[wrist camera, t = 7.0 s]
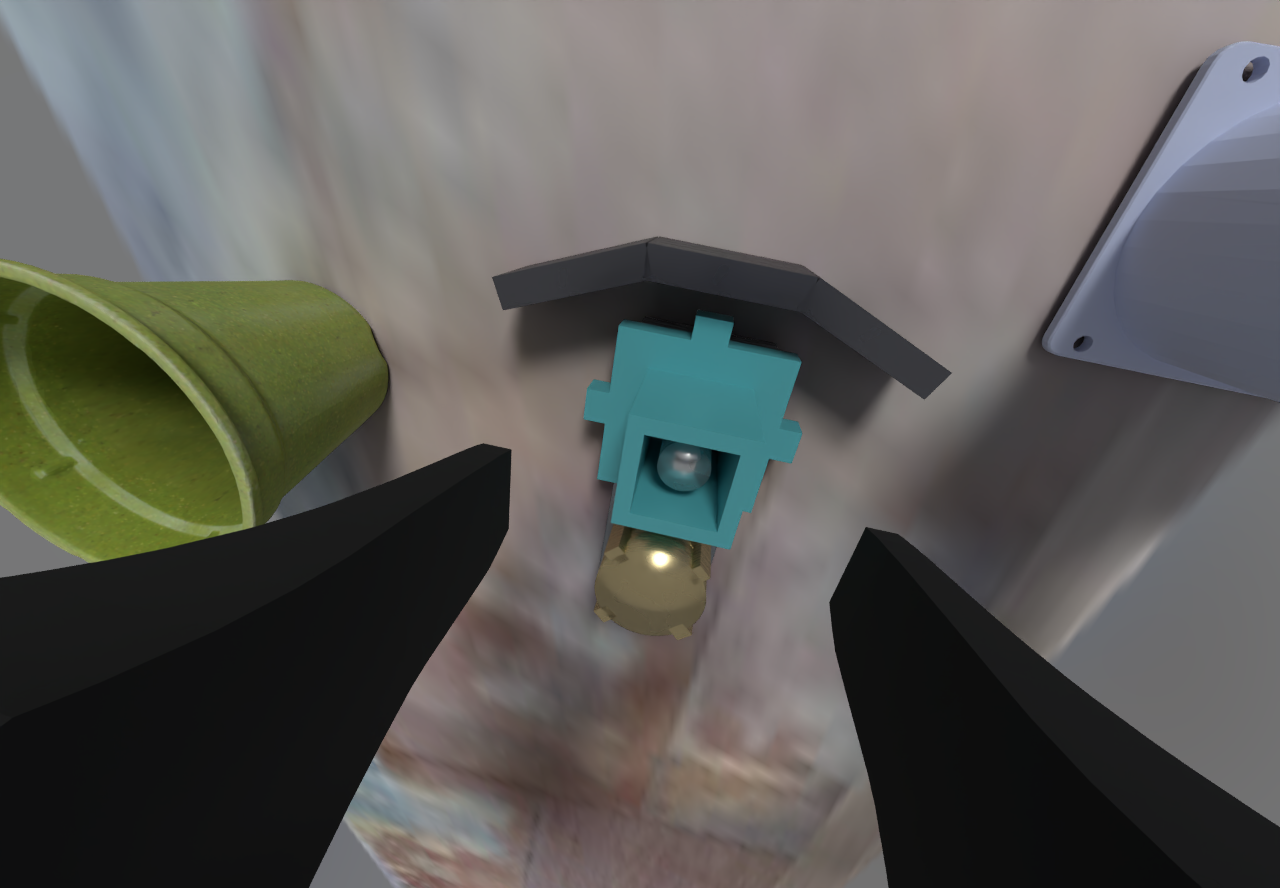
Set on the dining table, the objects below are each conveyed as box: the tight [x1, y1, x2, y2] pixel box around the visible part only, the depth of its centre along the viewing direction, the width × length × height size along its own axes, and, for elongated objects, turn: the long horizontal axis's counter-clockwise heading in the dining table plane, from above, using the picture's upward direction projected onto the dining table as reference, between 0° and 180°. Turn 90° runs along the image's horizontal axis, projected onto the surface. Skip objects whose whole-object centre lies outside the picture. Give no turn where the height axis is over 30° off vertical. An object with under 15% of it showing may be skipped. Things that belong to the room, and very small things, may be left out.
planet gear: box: [584, 310, 802, 549], centre depth 15 cm, size 8×8×5 cm
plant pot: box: [0, 259, 388, 563], centre depth 16 cm, size 9×9×9 cm
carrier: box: [492, 237, 951, 640], centre depth 17 cm, size 14×15×5 cm
